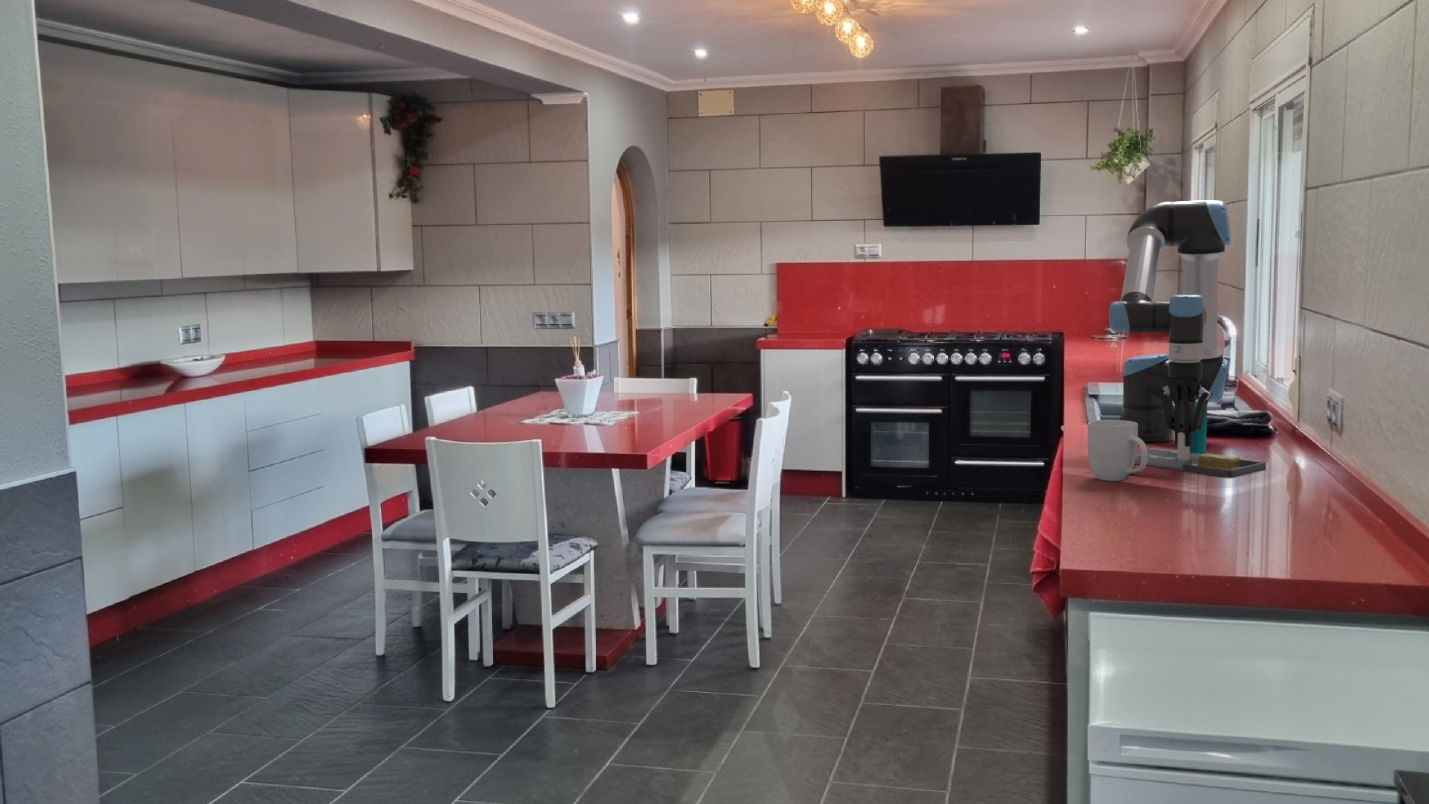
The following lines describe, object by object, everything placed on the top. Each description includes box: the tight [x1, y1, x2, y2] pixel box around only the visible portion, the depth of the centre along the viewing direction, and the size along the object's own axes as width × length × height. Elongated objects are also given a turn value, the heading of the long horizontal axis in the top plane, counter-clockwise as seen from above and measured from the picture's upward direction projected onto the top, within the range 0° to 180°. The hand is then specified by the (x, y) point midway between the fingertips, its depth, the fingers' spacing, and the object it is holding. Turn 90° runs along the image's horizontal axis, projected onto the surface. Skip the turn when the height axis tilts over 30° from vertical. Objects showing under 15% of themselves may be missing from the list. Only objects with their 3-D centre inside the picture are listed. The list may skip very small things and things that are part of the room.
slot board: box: [1135, 447, 1201, 471], centre depth 294 cm, size 12×16×4 cm
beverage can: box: [1190, 399, 1208, 454], centre depth 303 cm, size 6×6×15 cm
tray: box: [1182, 458, 1267, 478], centre depth 283 cm, size 15×12×3 cm
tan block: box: [1197, 452, 1223, 468], centre depth 286 cm, size 4×4×4 cm
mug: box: [1087, 419, 1148, 482], centre depth 281 cm, size 15×11×13 cm
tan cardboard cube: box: [1214, 454, 1241, 470], centre depth 282 cm, size 4×4×4 cm
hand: (1183, 459), depth 291 cm, fingers closed
